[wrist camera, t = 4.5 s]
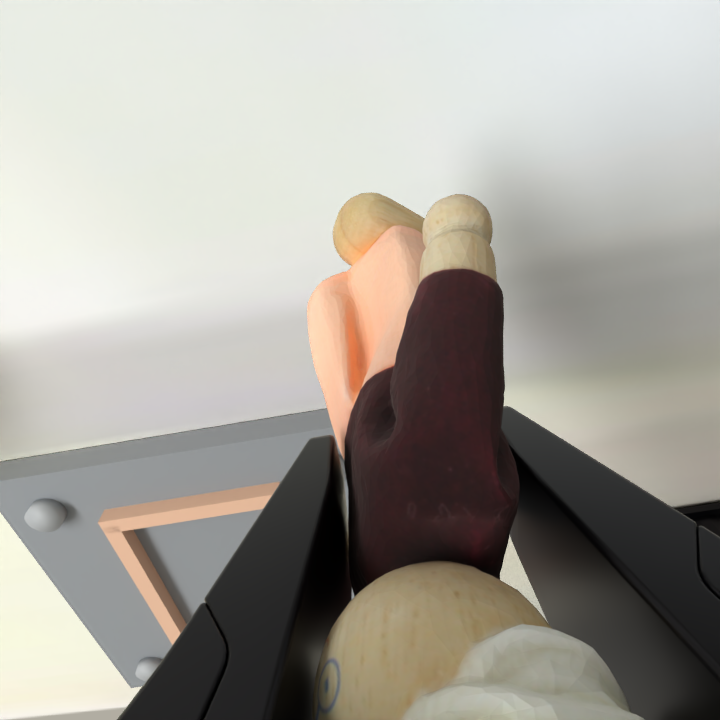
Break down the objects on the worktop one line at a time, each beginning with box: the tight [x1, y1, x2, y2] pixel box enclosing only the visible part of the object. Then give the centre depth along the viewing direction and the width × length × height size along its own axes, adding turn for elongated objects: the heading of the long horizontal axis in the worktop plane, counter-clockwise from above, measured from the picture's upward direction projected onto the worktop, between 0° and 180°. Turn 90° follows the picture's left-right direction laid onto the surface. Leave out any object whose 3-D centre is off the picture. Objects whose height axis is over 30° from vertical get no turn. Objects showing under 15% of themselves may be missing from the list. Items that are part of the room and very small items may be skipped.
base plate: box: [0, 409, 355, 688], centre depth 27 cm, size 18×18×2 cm
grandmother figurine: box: [307, 193, 645, 720], centre depth 8 cm, size 8×4×13 cm, turn 5°
